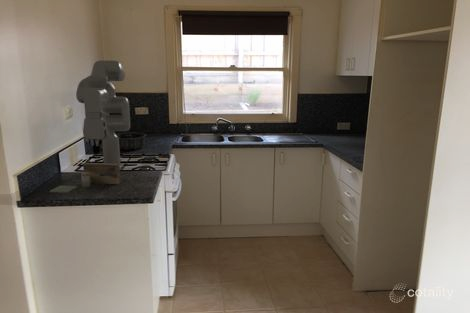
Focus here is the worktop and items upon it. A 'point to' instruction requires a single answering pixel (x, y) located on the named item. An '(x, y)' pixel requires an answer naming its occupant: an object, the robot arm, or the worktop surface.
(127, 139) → the bundt pan
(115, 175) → the stand
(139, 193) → the worktop surface
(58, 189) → the mat
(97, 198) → the worktop surface
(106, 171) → the strap
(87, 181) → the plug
